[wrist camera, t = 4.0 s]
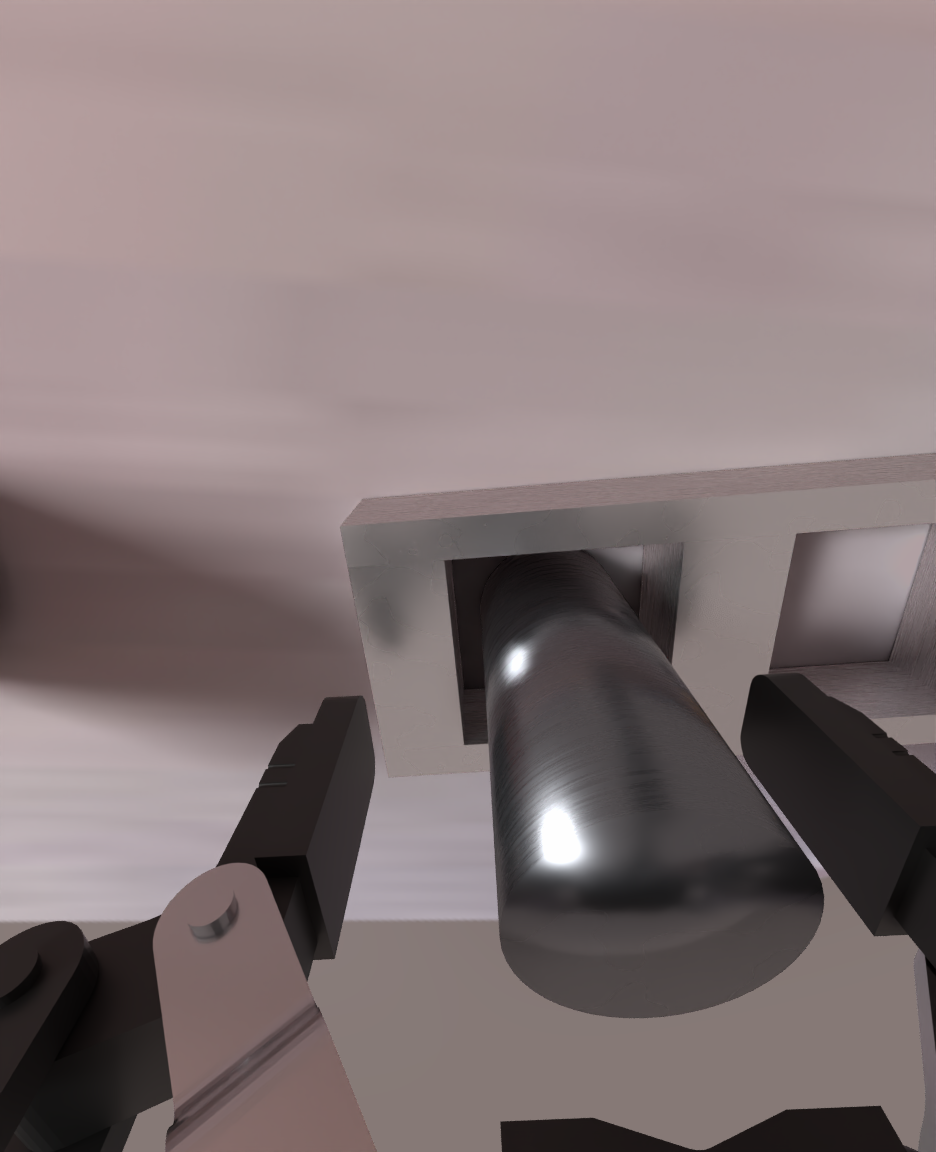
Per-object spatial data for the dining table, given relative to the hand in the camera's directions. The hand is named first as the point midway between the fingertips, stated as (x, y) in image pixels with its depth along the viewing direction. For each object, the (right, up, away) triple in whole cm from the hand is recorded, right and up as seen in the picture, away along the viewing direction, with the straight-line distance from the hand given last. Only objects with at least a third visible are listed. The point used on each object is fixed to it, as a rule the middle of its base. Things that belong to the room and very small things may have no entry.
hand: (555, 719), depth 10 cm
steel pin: (+1, +2, +4) cm, 5 cm away
